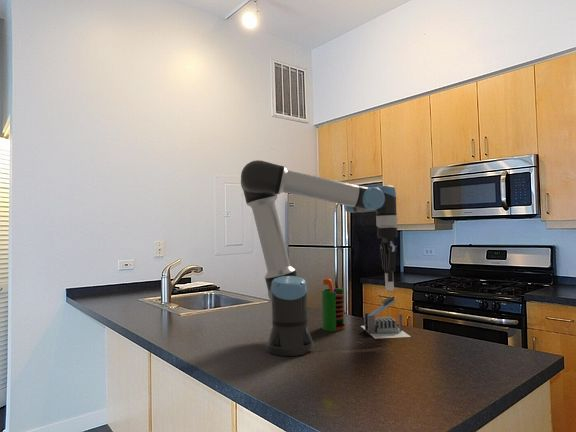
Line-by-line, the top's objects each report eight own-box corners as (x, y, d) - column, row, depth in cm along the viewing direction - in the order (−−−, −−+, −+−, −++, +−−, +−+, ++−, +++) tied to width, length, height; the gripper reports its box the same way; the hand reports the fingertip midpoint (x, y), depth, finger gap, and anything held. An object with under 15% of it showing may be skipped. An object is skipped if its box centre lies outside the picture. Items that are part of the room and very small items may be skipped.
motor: (344, 334, 153) (343, 280, 154) (320, 333, 155) (319, 280, 156) (346, 328, 163) (344, 277, 164) (323, 327, 165) (322, 277, 165)
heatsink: (398, 333, 149) (398, 320, 149) (377, 334, 148) (376, 321, 148) (391, 328, 157) (390, 316, 157) (370, 328, 156) (370, 317, 156)
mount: (404, 331, 151) (403, 314, 151) (368, 333, 149) (368, 315, 150) (399, 328, 156) (398, 311, 156) (364, 330, 155) (364, 312, 155)
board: (411, 339, 144) (411, 336, 144) (375, 341, 142) (375, 338, 142) (392, 326, 163) (392, 324, 163) (360, 328, 161) (360, 325, 161)
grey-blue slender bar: (395, 302, 152) (392, 297, 152) (370, 320, 151) (367, 315, 151) (392, 300, 155) (389, 296, 155) (367, 318, 154) (364, 313, 154)
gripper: (403, 226, 148) (406, 292, 147) (390, 226, 161) (393, 287, 160) (382, 227, 147) (385, 293, 146) (372, 227, 160) (374, 288, 159)
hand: (389, 290), depth 153 cm, fingers closed
